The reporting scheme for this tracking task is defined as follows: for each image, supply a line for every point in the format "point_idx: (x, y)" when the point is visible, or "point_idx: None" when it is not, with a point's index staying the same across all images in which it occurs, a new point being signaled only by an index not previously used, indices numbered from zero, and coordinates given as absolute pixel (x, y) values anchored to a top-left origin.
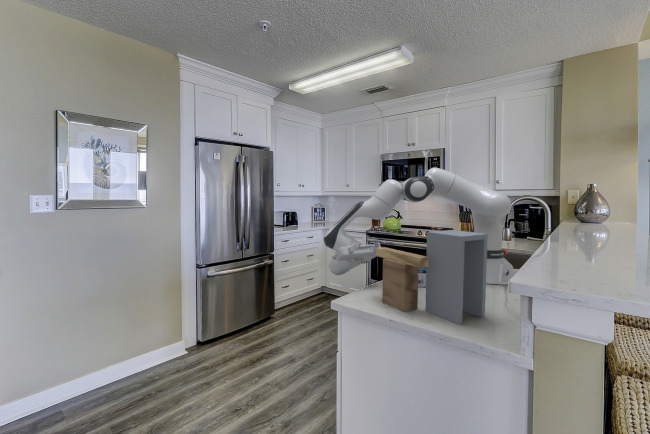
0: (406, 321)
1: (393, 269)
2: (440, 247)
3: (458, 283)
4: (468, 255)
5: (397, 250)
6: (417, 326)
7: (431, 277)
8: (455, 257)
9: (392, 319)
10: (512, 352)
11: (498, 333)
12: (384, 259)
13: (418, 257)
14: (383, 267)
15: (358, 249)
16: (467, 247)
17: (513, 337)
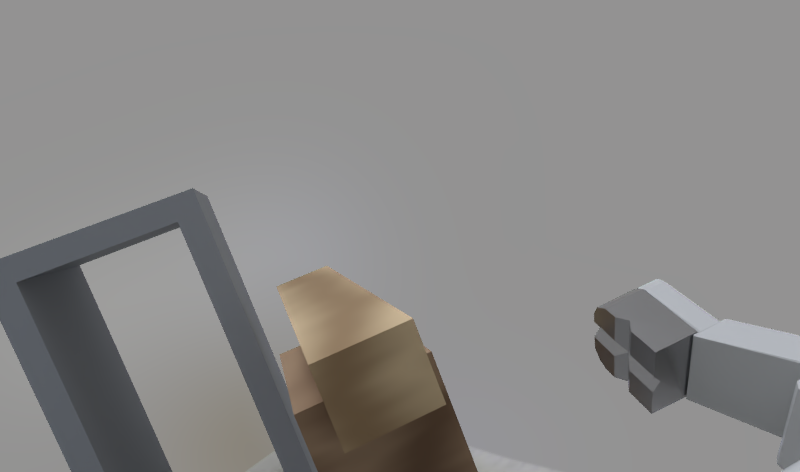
0: (496, 468)
1: None
2: (224, 251)
3: (274, 357)
4: (94, 350)
5: (299, 317)
6: (472, 448)
7: (284, 400)
8: (238, 273)
9: (548, 469)
10: None
11: (274, 469)
12: (426, 348)
13: (323, 269)
14: (453, 414)
15: (652, 408)
16: (76, 318)
17: (261, 460)
